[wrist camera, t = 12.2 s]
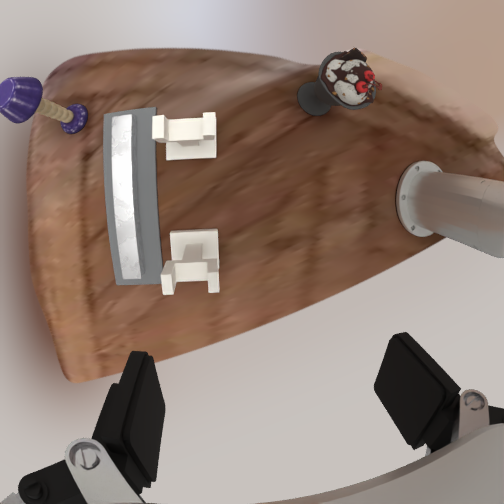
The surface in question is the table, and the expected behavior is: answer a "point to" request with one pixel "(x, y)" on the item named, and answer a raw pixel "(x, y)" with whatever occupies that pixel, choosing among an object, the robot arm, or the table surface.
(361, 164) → the table surface
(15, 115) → the toy lamp
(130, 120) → the rail
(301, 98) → the sundae
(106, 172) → the mat
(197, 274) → the rack
